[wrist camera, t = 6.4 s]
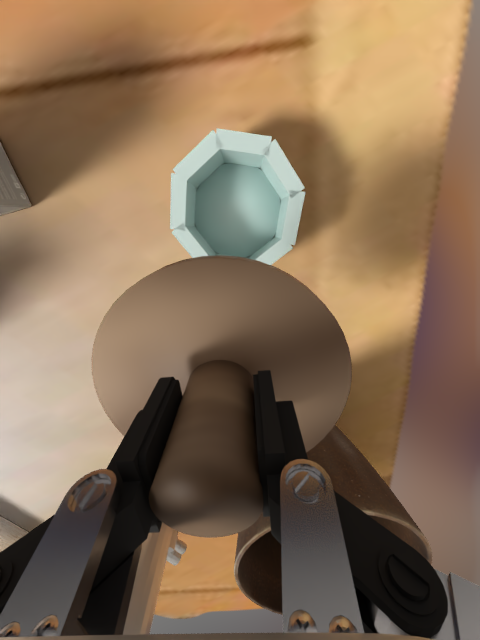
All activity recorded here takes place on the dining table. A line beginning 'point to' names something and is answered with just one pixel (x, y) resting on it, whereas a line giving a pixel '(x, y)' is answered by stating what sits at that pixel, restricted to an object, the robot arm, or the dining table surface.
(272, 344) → the lid
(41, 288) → the dining table surface
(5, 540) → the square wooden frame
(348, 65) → the dining table surface
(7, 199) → the skincare box
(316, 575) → the robot arm
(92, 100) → the dining table surface
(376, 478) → the plant pot
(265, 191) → the bowl
